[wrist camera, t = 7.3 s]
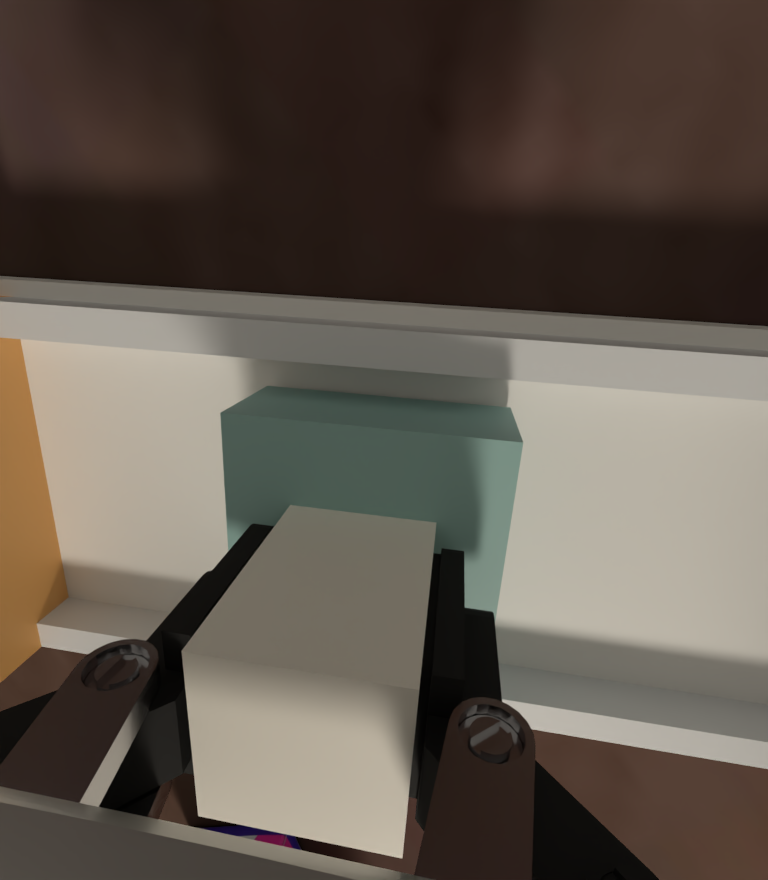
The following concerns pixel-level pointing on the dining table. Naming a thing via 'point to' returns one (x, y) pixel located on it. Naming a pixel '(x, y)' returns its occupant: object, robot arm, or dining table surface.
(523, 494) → the rail
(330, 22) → the dining table surface
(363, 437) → the carriage
